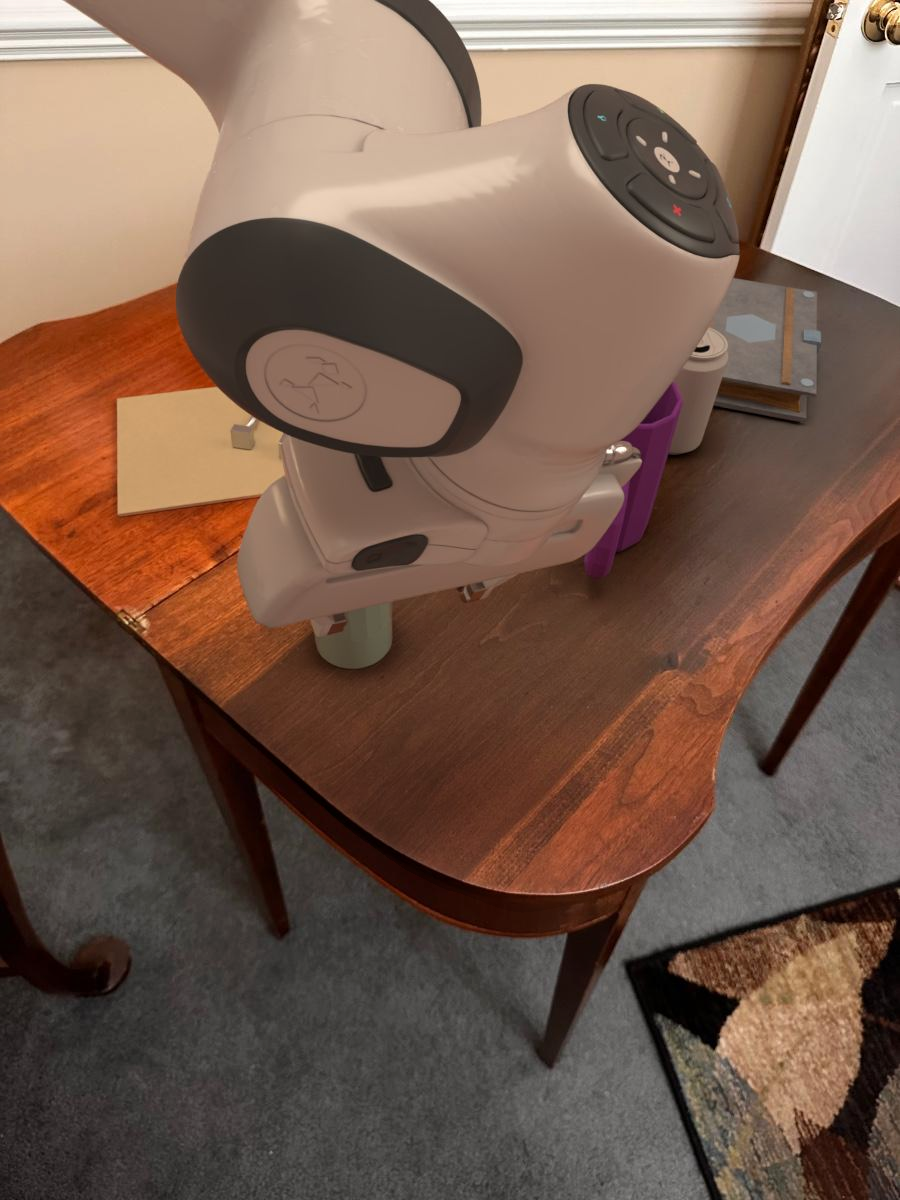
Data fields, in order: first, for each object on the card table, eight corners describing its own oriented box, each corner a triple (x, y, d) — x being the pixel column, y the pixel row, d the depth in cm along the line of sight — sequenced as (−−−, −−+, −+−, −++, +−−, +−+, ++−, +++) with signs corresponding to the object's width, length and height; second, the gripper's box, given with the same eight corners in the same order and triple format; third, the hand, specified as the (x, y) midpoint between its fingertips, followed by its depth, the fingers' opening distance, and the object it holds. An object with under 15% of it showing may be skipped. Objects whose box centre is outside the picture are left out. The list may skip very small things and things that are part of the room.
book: (674, 300, 109) (683, 262, 106) (808, 323, 107) (823, 285, 103) (654, 397, 96) (664, 358, 92) (806, 426, 94) (823, 387, 90)
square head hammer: (259, 384, 93) (229, 430, 86) (277, 387, 92) (249, 433, 86) (261, 400, 94) (232, 447, 88) (279, 403, 94) (251, 450, 88)
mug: (647, 495, 86) (683, 366, 74) (643, 615, 76) (684, 488, 64) (555, 483, 87) (576, 353, 75) (539, 600, 77) (561, 471, 65)
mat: (118, 517, 82) (117, 514, 81) (117, 401, 93) (116, 398, 92) (370, 481, 86) (370, 478, 86) (340, 374, 97) (340, 371, 97)
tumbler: (322, 675, 71) (312, 605, 64) (309, 615, 75) (299, 542, 68) (400, 660, 72) (398, 589, 65) (383, 602, 76) (380, 529, 69)
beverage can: (636, 452, 90) (661, 352, 81) (642, 415, 94) (667, 316, 85) (698, 463, 89) (731, 364, 80) (701, 425, 93) (733, 326, 84)
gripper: (628, 391, 45) (524, 532, 57) (247, 436, 36) (214, 593, 47) (685, 490, 43) (565, 616, 55) (295, 564, 34) (248, 697, 45)
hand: (399, 606), depth 51 cm, fingers open, 8 cm apart
